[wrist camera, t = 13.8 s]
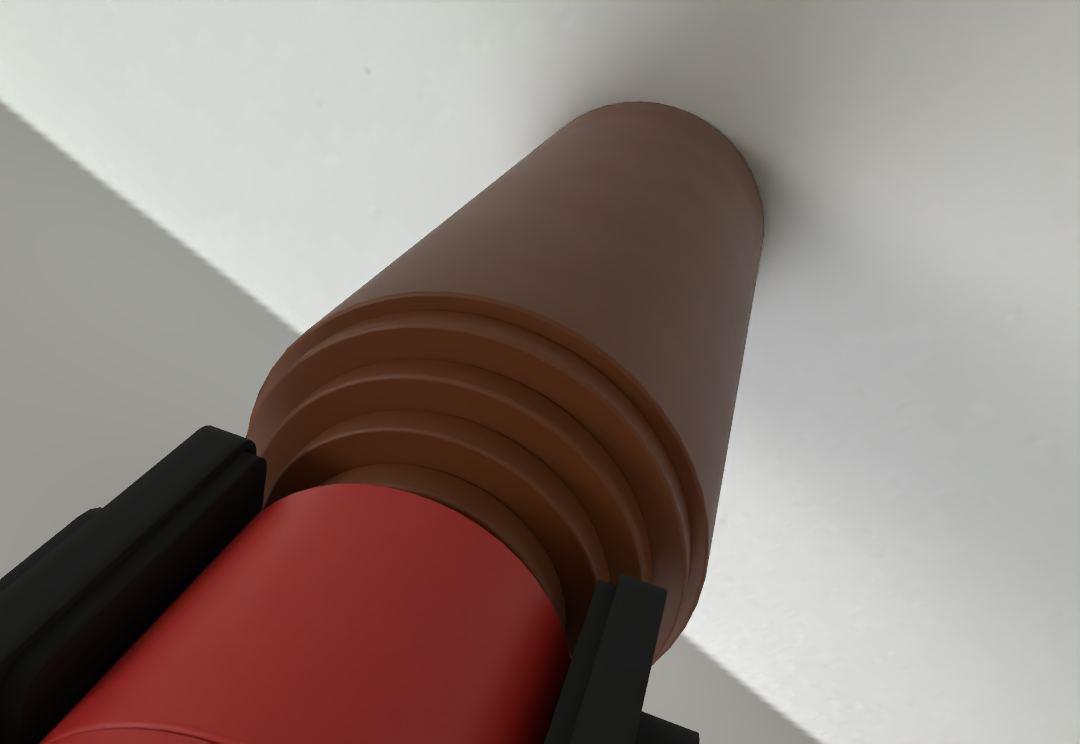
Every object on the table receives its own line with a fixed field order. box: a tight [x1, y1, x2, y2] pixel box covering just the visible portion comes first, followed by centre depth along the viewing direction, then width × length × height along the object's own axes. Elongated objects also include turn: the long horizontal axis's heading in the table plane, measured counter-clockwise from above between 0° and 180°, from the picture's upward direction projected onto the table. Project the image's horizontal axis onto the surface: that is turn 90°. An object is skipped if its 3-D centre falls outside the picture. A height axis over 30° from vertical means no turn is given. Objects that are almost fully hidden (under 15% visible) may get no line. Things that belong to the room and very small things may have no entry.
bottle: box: [246, 102, 764, 666], centre depth 16 cm, size 6×6×20 cm
